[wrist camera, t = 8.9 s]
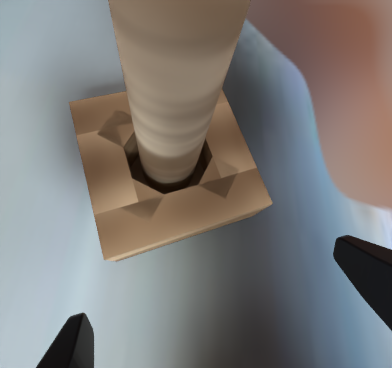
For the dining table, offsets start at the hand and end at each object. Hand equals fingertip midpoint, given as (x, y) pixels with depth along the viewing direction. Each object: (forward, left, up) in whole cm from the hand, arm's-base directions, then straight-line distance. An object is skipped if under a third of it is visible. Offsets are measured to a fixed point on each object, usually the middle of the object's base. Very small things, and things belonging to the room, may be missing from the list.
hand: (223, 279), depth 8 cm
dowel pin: (+8, -1, -10) cm, 13 cm away
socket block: (+8, -1, -10) cm, 13 cm away
